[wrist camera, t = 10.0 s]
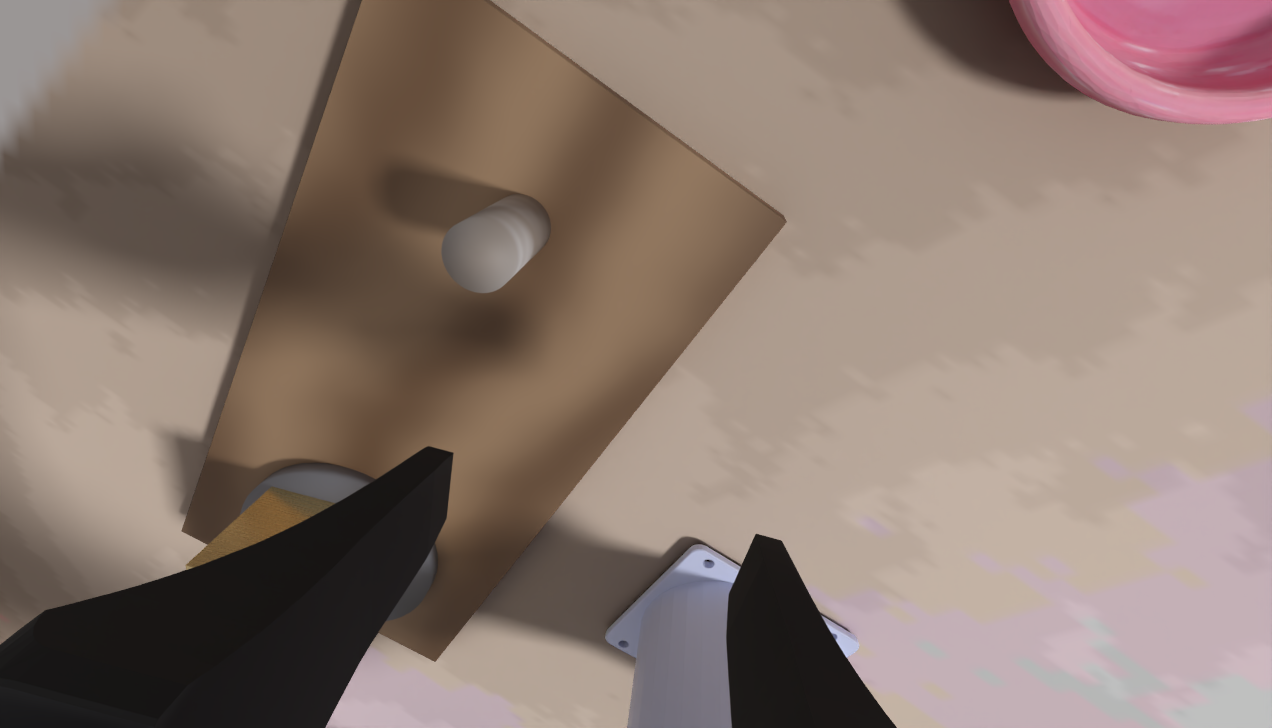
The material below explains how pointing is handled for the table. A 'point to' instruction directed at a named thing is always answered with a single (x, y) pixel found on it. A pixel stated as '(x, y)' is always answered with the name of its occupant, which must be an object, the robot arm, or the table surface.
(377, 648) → the table surface
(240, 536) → the collar
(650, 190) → the board
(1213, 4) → the pink ring
